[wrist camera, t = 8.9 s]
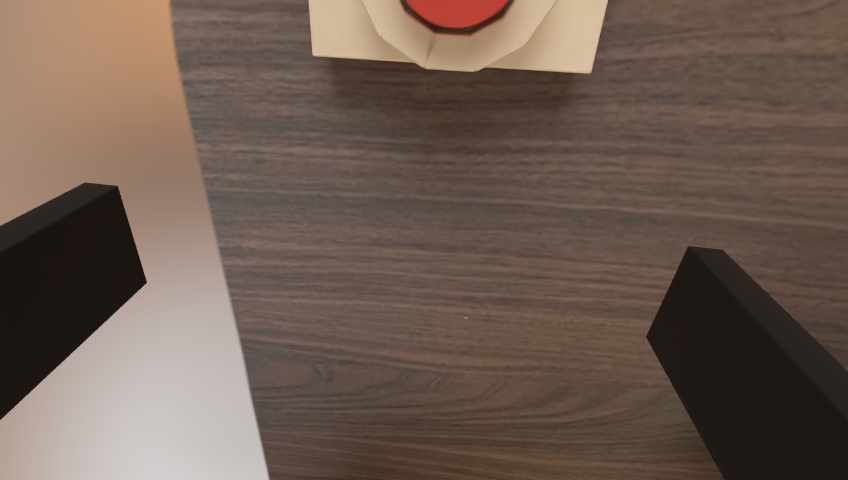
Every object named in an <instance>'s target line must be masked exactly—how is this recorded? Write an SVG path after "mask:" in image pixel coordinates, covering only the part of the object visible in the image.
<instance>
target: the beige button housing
mask: <svg viewBox="0 0 848 480" xmlns="http://www.w3.org/2000/svg"><path fill="white" fill-rule="evenodd" d="M607 2H608V0H508V2H507V3H506V4H505V5H504V6H503V7H502V8H501V9H500V10H499V11H498V12H497V13H495V14H494V15H493V16H492V17H490V18H488V19H487V20H485V21H483V22H481V23H479V24H476V25H473V26H470V27H464V28H449V27H443V26H439V25H436V24H434V23H432V22H429V21H427V20H426V19H424V18H423V17H421V16H420V15H419V14H418V13H416V12H415V11H414V10H413V9H412V8H411V7H410V5H409V4H408V3H407V2H406V0H309V13H310V27H311V40H312V53H313V56H319V57H335V58H351V59H366V60H382V61H398V62H413V63H416V64H418V65H419V66H421V67H423V68H426V69H434V70H450V71H465V72H474V71H479V70H481V69H482V68H484V67H492V68H507V69H523V70H539V71H554V72H570V73H586V74H589V73H591V71H592V67H593V62H594V58H595V54H596V50H597V45H598V41H599V37H600V32H601V28H602V24H603V19H604V15H605V11H606V7H607Z"/></svg>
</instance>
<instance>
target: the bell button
mask: <svg viewBox="0 0 848 480" xmlns="http://www.w3.org/2000/svg"><path fill="white" fill-rule="evenodd" d="M406 2H407V3H408V4H409V5H410V7H411V8H412V9H413V10H414V11H415V12H416V13H418V14H419V15H420V16H421V17H423V18H424V19H426V20H427V21H429V22H432V23H434V24H436V25H439V26H443V27H449V28H464V27H470V26H473V25H476V24H479V23H481V22H483V21H485V20H487V19H488V18H490V17H492V16H493V15H494V14H495V13H497V12H498V11H499V10H500V9H501V8H502V7H503V6H504V5H505V4H506V3H507V2H508V0H406Z"/></svg>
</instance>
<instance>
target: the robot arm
mask: <svg viewBox="0 0 848 480" xmlns="http://www.w3.org/2000/svg"><path fill="white" fill-rule="evenodd" d="M146 283H147V282H146V278H145V275H144V272H143V268H142V265H141V261H140V258H139V255H138V252H137V248H136V245H135V242H134V238H133V235H132V232H131V229H130V225H129V222H128V219H127V215H126V212H125V209H124V205H123V202H122V199H121V195H120V192H119V189H118V186H112V185H103V184H93V183H84V184H81V185H80V186H78V187H76V188H74V189H72V190H70V191H68V192H66V193H64V194H62V195H60V196H58V197H56V198H54V199H52V200H50V201H48V202H46V203H44V204H42V205H40V206H38V207H37V208H35V209H33V210H31V211H29V212H27V213H25V214H23V215H21V216H19V217H17V218H15V219H13V220H11V221H9V222H8V223H5V224H3V225H1V226H0V420H1V419H2V418H3V417H4V416H5V415H6V414H7V413H8V412H9V411H10V410H11V409H13V408H14V407H15V406H16V405H17V404H18V403H19V402H20V401H21V400H22V399H23V398H24V397H25V396H26V395H28V394H29V393H30V392H31V391H32V390H33V389H34V388H35V387H36V386H37V385H38V384H39V383H40V382H41V381H42V380H43V379H45V378H46V377H47V376H48V375H49V374H50V373H51V372H52V371H53V370H54V369H55V368H56V367H57V366H58V365H60V364H61V362H63V361H64V360H65V359H66V358H67V357H68V356H69V355H70V354H71V353H72V352H73V351H74V350H76V349H77V348H78V347H79V346H80V345H81V344H82V343H83V342H84V341H85V340H86V339H87V338H88V337H89V336H90V335H91V334H93V333H94V332H95V331H96V330H97V329H98V328H99V327H100V326H101V325H102V324H103V323H104V322H105V321H107V320H108V319H109V318H110V317H111V316H112V315H113V314H114V313H115V312H116V311H117V310H118V309H119V308H120V307H121V306H123V305H124V304H125V303H126V302H127V301H128V300H129V299H130V298H131V297H132V296H133V295H134V294H135V293H136V292H137V291H138V290H140V289H141V288H142V287H143V286H144V285H145V284H146ZM646 338H647V339H648V341H649V343H650V345H651V347H652V349H653V350H654V352H655V354H656V356H657V358H658V359H659V361H660V363H661V365H662V367H663V369H664V370H665V372H666V374H667V376H668V378H669V379H670V381H671V383H672V385H673V387H674V389H675V390H676V392H677V394H678V396H679V398H680V399H681V401H682V403H683V405H684V407H685V409H686V410H687V412H688V414H689V416H690V418H691V419H692V421H693V423H694V425H695V427H696V429H697V430H698V432H699V434H700V436H701V438H702V439H703V441H704V443H705V445H706V447H707V449H708V450H709V452H710V454H711V456H712V458H713V459H714V461H715V463H716V465H717V467H718V469H719V470H720V472H721V474H722V476H723V478H724V479H725V480H848V371H847V370H846V369H845V368H844V367H843V366H842V365H841V364H840V363H839V362H838V361H837V360H836V359H835V358H834V357H833V356H831V355H830V354H829V353H828V352H827V351H826V350H825V349H824V348H823V347H822V346H821V345H820V344H819V343H818V342H817V341H816V340H815V339H814V338H813V337H812V336H811V335H810V334H809V333H808V332H807V331H806V330H805V329H804V328H803V327H802V326H801V325H799V324H798V323H797V322H796V321H795V320H794V319H793V318H792V317H791V316H790V315H789V314H788V313H787V312H786V311H785V310H784V309H783V308H782V307H781V306H780V305H779V304H778V303H777V302H776V301H775V300H774V299H773V298H772V297H771V296H770V295H769V294H767V293H766V292H765V291H764V290H763V289H762V288H761V287H760V286H759V285H758V284H757V283H756V282H755V281H754V280H753V279H752V278H751V277H750V276H749V275H748V274H747V273H746V272H745V271H744V270H743V269H742V268H741V267H740V266H739V265H738V264H737V263H735V262H734V261H733V260H732V259H731V258H730V257H729V256H728V255H727V254H726V253H725V252H724V251H723V250H719V249H710V248H700V247H691V246H688V248H687V250H686V252H685V255H684V257H683V259H682V261H681V263H680V265H679V267H678V270H677V272H676V274H675V276H674V278H673V280H672V282H671V285H670V287H669V289H668V291H667V293H666V295H665V297H664V300H663V302H662V304H661V306H660V308H659V310H658V313H657V315H656V317H655V319H654V321H653V323H652V325H651V328H650V330H649V332H648V334H647V336H646Z"/></svg>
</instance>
